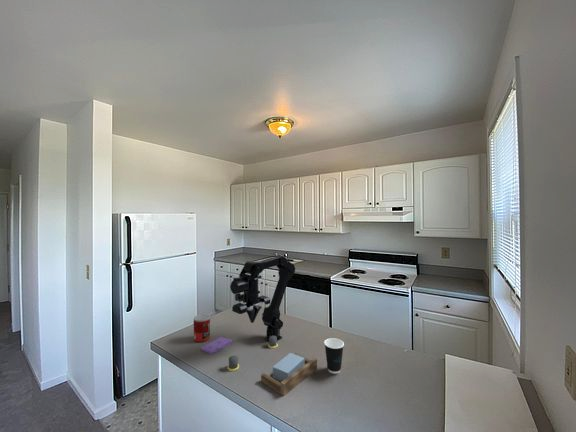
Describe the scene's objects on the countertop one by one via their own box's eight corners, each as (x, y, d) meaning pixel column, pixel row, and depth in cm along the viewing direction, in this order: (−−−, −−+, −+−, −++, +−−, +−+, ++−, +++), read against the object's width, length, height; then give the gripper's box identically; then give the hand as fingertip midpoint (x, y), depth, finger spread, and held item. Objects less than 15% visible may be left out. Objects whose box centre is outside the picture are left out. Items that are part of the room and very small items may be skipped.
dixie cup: (339, 378, 96) (339, 350, 96) (320, 371, 101) (320, 344, 101) (347, 368, 103) (347, 341, 103) (329, 362, 107) (329, 336, 107)
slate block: (290, 363, 107) (290, 352, 107) (304, 369, 103) (304, 358, 103) (272, 378, 97) (272, 366, 97) (287, 385, 93) (287, 373, 93)
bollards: (272, 342, 124) (272, 334, 124) (279, 345, 121) (279, 337, 121) (225, 368, 103) (225, 358, 103) (232, 372, 100) (232, 362, 100)
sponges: (201, 351, 118) (201, 347, 118) (221, 339, 128) (221, 336, 128) (211, 355, 114) (211, 351, 114) (231, 343, 124) (231, 339, 124)
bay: (295, 358, 110) (295, 349, 110) (317, 369, 102) (317, 359, 102) (261, 381, 95) (261, 370, 95) (283, 395, 87) (283, 384, 87)
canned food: (205, 343, 124) (205, 320, 124) (190, 341, 125) (190, 319, 125) (212, 336, 131) (212, 314, 131) (198, 334, 133) (198, 313, 133)
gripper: (255, 282, 130) (255, 312, 130) (224, 290, 116) (225, 324, 116) (270, 285, 123) (271, 318, 123) (240, 295, 109) (240, 331, 109)
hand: (252, 322), depth 118 cm, fingers closed
